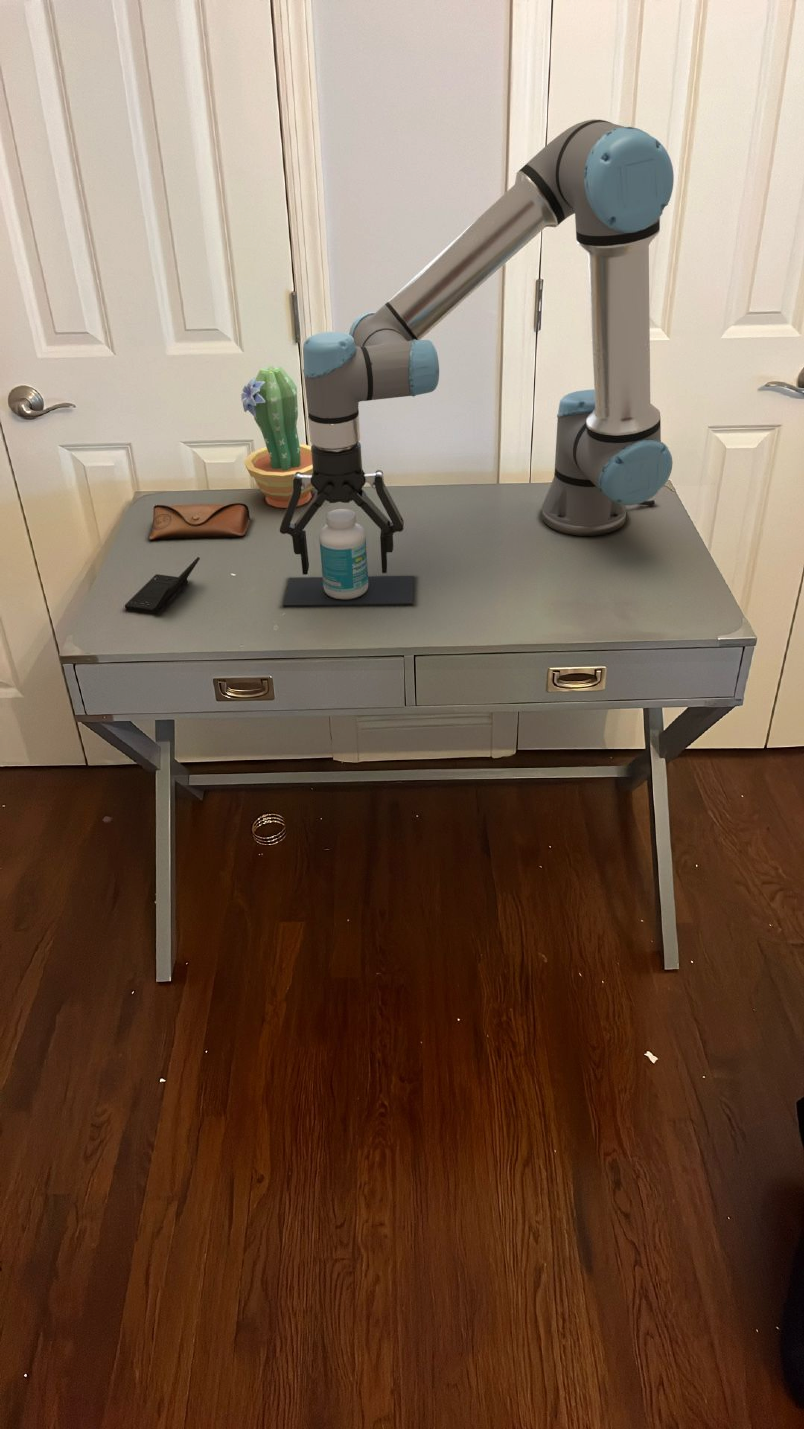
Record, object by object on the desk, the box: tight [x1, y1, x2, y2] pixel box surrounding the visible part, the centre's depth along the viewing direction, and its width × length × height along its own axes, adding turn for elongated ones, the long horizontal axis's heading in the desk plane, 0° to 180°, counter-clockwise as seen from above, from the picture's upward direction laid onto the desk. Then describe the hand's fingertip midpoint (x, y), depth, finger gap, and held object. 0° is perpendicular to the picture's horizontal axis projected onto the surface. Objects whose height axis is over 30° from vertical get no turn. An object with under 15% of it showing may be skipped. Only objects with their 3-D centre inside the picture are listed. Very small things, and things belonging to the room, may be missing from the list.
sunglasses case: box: [148, 502, 251, 541], centre depth 184 cm, size 18×7×7 cm, turn 91°
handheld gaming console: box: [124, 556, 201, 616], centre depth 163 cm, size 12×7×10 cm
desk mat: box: [282, 575, 415, 608], centre depth 164 cm, size 21×9×1 cm, turn 88°
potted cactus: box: [240, 365, 314, 509], centre depth 187 cm, size 15×15×25 cm
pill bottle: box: [318, 508, 369, 599], centre depth 160 cm, size 8×7×14 cm
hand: (345, 570), depth 162 cm, fingers open, 12 cm apart
